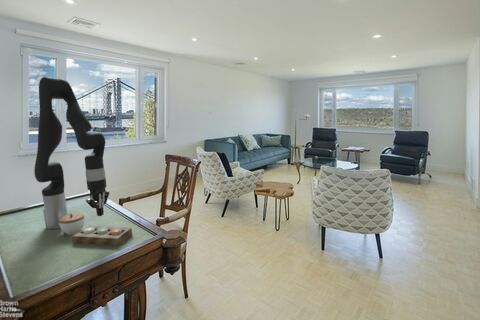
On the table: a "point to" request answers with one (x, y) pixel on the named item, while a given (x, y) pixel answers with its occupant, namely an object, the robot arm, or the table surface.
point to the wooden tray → (102, 236)
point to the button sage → (102, 231)
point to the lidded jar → (71, 223)
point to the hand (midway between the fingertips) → (100, 215)
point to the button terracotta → (116, 232)
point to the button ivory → (88, 230)
